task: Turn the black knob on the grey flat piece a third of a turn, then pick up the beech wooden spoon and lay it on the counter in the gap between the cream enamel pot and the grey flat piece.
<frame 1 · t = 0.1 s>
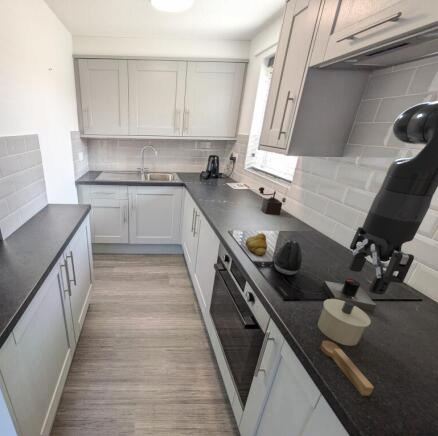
hand: (364, 280, 51), 27 cm above the worktop, tool pointing down, fingers open, 8 cm apart
hob knob: (351, 286, 84), point 5 cm above the worktop, hinge at 0.0°
pot: (337, 331, 71), on the worktop
pot lid: (345, 312, 69), point 7 cm above the worktop, touching pot
bread roll: (255, 250, 118), on the worktop
dark grey egg shape: (284, 271, 101), on the worktop
spoon: (345, 370, 59), on the worktop
grey flat piece: (345, 298, 86), on the worktop
manual coffee grinder: (266, 212, 175), on the worktop
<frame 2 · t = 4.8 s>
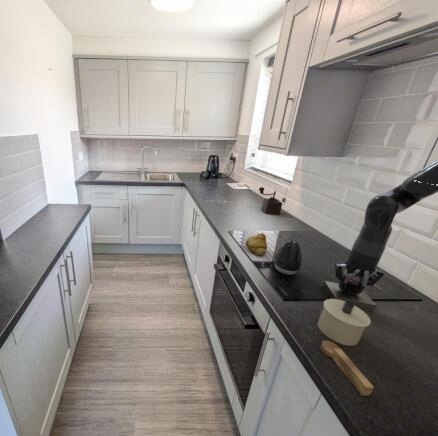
hand: (349, 291, 84), 3 cm above the worktop, tool pointing down, fingers closed on hob knob, 4 cm apart
hob knob: (351, 286, 84), point 5 cm above the worktop, hinge at -0.1°, touching gripper
everything else where it was.
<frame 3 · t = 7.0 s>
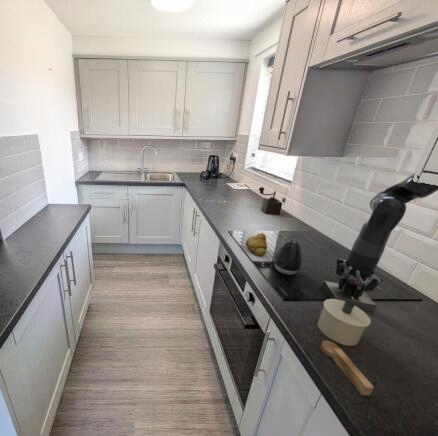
hand: (348, 291, 85), 3 cm above the worktop, tool pointing down, fingers open, 4 cm apart
hob knob: (351, 286, 84), point 5 cm above the worktop, hinge at 123.1°
everything else where it was.
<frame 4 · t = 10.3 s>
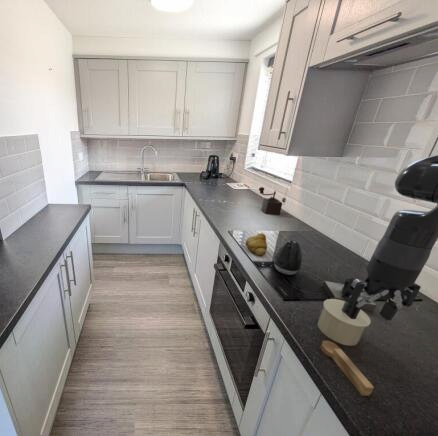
hand: (367, 317, 55), 16 cm above the worktop, tool pointing down, fingers open, 8 cm apart
nothing on the worktop moved.
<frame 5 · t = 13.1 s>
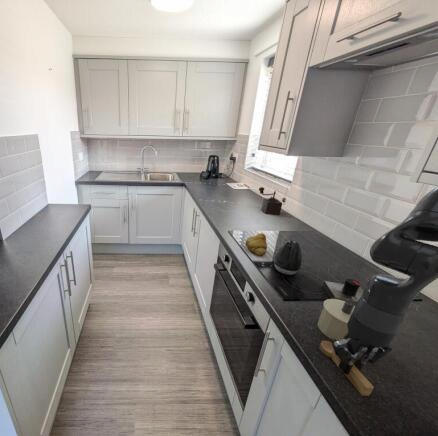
hand: (347, 370, 59), 1 cm above the worktop, tool pointing down, fingers closed on spoon, 2 cm apart
spoon: (344, 370, 59), on the worktop, touching gripper
everything else where it was.
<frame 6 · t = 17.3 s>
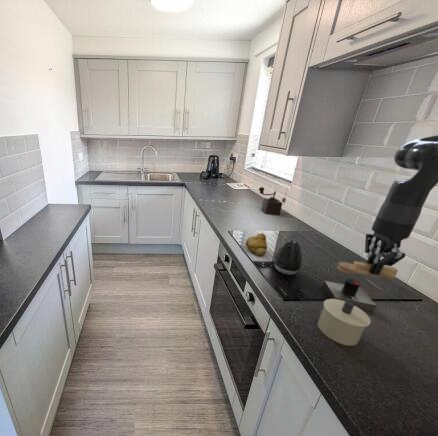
hand: (371, 271, 69), 19 cm above the worktop, tool pointing down, fingers closed on spoon
spoon: (367, 273, 69), point 18 cm above the worktop, touching gripper
everything else where it was.
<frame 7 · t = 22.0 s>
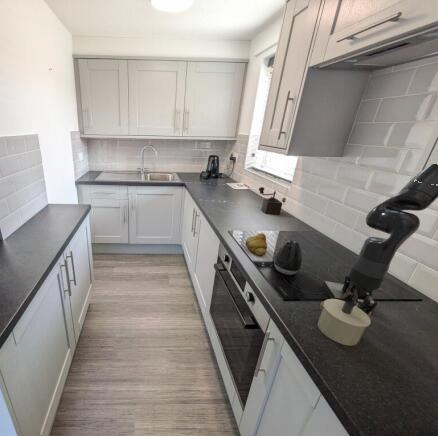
hand: (349, 312, 78), 1 cm above the worktop, tool pointing down, fingers open, 5 cm apart
spoon: (345, 313, 79), on the worktop
everything else where it was.
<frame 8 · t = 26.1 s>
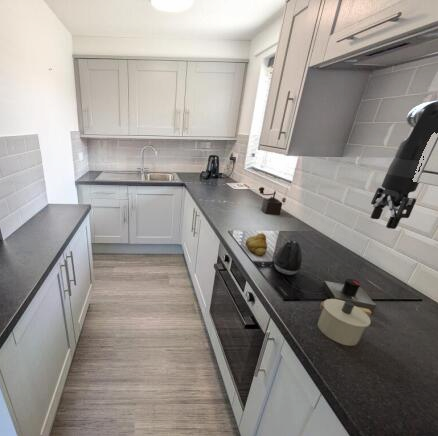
hand: (382, 223, 76), 30 cm above the worktop, tool pointing down, fingers open, 8 cm apart
nothing on the worktop moved.
at the end: hob knob at +123° (first picture: +0°); spoon inside the target area (0.9 cm from its centre), on the worktop; the gripper is holding nothing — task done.
